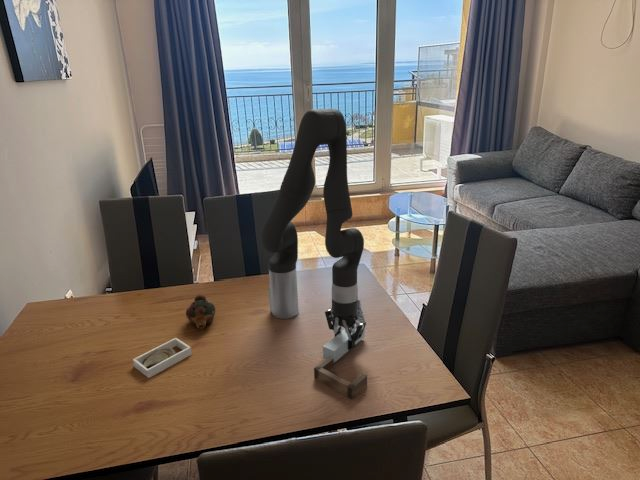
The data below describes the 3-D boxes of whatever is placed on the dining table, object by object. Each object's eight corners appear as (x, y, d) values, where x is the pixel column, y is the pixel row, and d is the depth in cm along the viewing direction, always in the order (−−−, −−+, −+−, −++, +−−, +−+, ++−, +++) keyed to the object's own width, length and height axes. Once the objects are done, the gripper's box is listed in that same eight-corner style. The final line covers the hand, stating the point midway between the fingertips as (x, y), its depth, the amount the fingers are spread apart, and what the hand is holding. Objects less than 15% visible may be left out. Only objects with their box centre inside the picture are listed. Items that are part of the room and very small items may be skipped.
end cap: (314, 378, 122) (314, 368, 120) (329, 367, 126) (329, 356, 125) (352, 399, 114) (352, 388, 112) (367, 386, 118) (367, 375, 117)
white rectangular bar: (323, 357, 129) (322, 346, 127) (354, 332, 140) (354, 321, 139) (334, 362, 127) (334, 351, 125) (364, 336, 138) (364, 325, 137)
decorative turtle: (213, 308, 159) (212, 289, 156) (218, 332, 146) (217, 312, 143) (185, 312, 156) (183, 292, 153) (188, 337, 143) (186, 316, 140)
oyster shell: (154, 379, 130) (180, 353, 133) (151, 380, 127) (178, 354, 129) (140, 364, 131) (166, 339, 133) (137, 365, 127) (164, 339, 130)
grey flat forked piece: (366, 327, 146) (366, 322, 145) (346, 328, 145) (345, 323, 145) (359, 297, 165) (359, 292, 164) (341, 298, 165) (341, 293, 164)
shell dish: (134, 366, 129) (132, 359, 128) (177, 344, 139) (175, 337, 138) (148, 378, 124) (147, 370, 123) (192, 354, 134) (190, 347, 133)
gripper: (317, 293, 129) (318, 342, 135) (356, 309, 120) (356, 361, 126) (334, 283, 134) (334, 331, 140) (372, 298, 125) (371, 349, 132)
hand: (344, 345), depth 133 cm, fingers closed on white rectangular bar, 4 cm apart
